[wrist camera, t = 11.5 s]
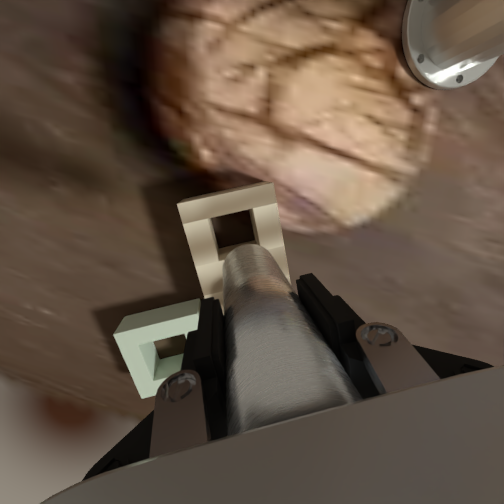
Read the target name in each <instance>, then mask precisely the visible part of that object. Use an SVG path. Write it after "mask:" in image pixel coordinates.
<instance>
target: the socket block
mask: <svg viewBox="0 0 504 504" xmlns="http://www.w3.org/2000/svg"><path fill="white" fill-rule="evenodd" d="M177 206H178V210H179V213H180V217H181V220H182V223H183V227H184V230H185V234H186V237H187V240H188V244H189V247H190V250H191V254H192V257H193V261H194V264H195V267H196V271H197V274H198V278H199V281H200V284H201V288H202V291H203V295H204V298H205V299H206V298H210V297H214V299H219V301H220V304H221V308H222V311H223V315H224V308H223V275H222V268H223V263H224V260H225V258H226V257H227V255H228V254H229V253H230V252H231V251H232V250H233V249H235V248H237V247H239V246H241V245H245V244H256V245H260V246H262V247H264V248H266V249H267V250H268V251H269V252H270V253H271V254H272V256H273V257H274V259H275V260H276V262H277V264H278V265H279V267H280V268H281V270H282V272H283V273H284V275H285V276H286V278H287V279H288V281H289V283H290V284H291V282H290V276H289V271H288V265H287V259H286V253H285V247H284V241H283V236H282V230H281V224H280V218H279V212H278V207H277V201H276V195H275V189H274V183H272V182H266V181H264V182H259V183H255V184H250V185H245V186H241V187H236V188H232V189H227V190H223V191H218V192H214V193H209V194H205V195H200V196H195V197H191V198H186V199H183V200H181V201H180V202H179V203H177ZM248 209H249V213H250V218H251V222H252V227H253V232H254V237H255V240H253V241H249V242H244V243H240V244H236V245H232V246H227V247H223V248H218V244H217V240H216V236H215V233H214V229H213V225H212V221H211V218H212V217H217V216H221V215H226V214H230V213H235V212H239V211H243V210H248Z"/></svg>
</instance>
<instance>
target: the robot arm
mask: <svg viewBox="0 0 504 504" xmlns="http://www.w3.org/2000/svg"><path fill="white" fill-rule="evenodd" d="M402 44H403V50H404V55H405V58H406V60H407V63H408V65H409V67H410V69H411V71H412V72H413V74H414V75H415V76H416V77H417V78H418V79H419V80H420V81H421V82H422V83H424V84H425V85H427V86H428V87H431V88H434V89H438V90H450V89H456V88H458V87H461V86H464V85H467V84H469V83H471V82H473V81H475V80H476V79H478V78H479V77H480V76H482V75H483V74H484V73H485V72H486V71H487V70H488V69H489V68H490V67H491V66H492V65H493V64H494V62H495V61H496V60H497V58H498V57H499V56H500V55H502V54H504V0H408V2H407V5H406V9H405V13H404V17H403V25H402ZM296 283H297V290H298V296H299V299H300V300H301V302H302V303H303V305H304V306H305V308H306V310H307V311H308V313H309V314H310V316H311V318H312V319H313V321H314V322H315V324H316V326H317V327H318V329H319V330H320V332H321V333H322V335H323V337H324V338H325V340H326V341H327V343H328V345H329V346H330V348H331V349H332V351H333V352H334V354H335V356H336V357H337V359H338V360H339V362H340V364H341V365H342V367H343V368H344V370H345V372H346V373H347V375H348V376H349V378H350V379H351V381H352V383H353V384H354V386H355V387H356V389H357V391H358V392H359V394H360V395H361V397H362V399H363V400H360V401H356V402H352V403H348V404H345V405H341V406H337V407H333V408H330V409H326V410H322V411H319V412H315V413H311V414H307V415H304V416H300V417H296V418H293V419H289V420H285V421H282V422H278V423H274V424H271V425H267V426H263V427H260V428H256V429H252V430H249V431H245V432H241V433H238V434H234V435H231V436H227V406H226V372H225V340H224V315H223V311H222V308H221V304H220V301H219V299H214V297H210V298H206V299H202V300H201V306H200V313H199V320H198V327H197V330H194V331H190V332H188V334H187V339H186V344H185V349H184V354H183V359H182V364H181V369H180V371H178V372H176V373H174V374H172V375H170V376H169V377H168V378H166V379H165V380H164V381H163V382H162V383H161V385H160V386H159V388H158V389H157V393H156V398H155V407H154V410H153V411H152V412H151V413H150V414H149V415H148V416H147V417H146V418H145V419H143V420H142V421H141V422H140V423H139V424H138V425H137V426H136V427H135V428H134V429H133V430H132V431H130V432H129V433H128V434H127V435H126V436H125V437H124V438H123V439H122V440H121V441H120V442H118V444H116V445H115V446H114V447H113V448H112V449H111V450H110V451H109V452H108V453H107V454H106V455H104V456H103V457H102V458H101V459H100V460H99V461H98V462H97V463H96V464H95V465H94V466H93V467H92V468H91V469H90V471H88V473H87V474H86V476H85V477H84V479H83V480H82V481H81V482H79V483H76V484H74V485H73V486H70V487H68V488H66V489H64V490H63V491H60V492H59V493H56V494H55V495H52V496H51V497H49V498H48V499H46V500H44V501H43V502H41V503H40V504H504V365H502V366H496V367H494V366H492V365H490V364H488V363H485V362H481V361H478V360H474V359H470V358H466V357H462V356H457V355H453V354H449V353H445V352H441V351H436V350H432V349H428V348H424V347H420V346H415V345H412V344H411V343H410V342H409V341H408V340H407V338H406V337H405V336H404V335H403V334H402V332H401V331H399V330H398V329H397V328H396V327H394V326H392V325H389V324H386V323H380V322H371V323H365V322H364V321H363V320H362V319H361V318H360V317H359V316H358V315H357V314H356V313H355V312H354V311H353V310H352V309H351V308H350V307H349V305H348V304H347V303H346V302H345V301H344V300H343V299H342V298H341V297H340V296H338V295H336V296H332V294H331V293H330V292H329V291H328V290H327V289H326V288H325V287H324V286H323V285H322V283H321V282H320V281H319V280H318V279H317V278H316V277H315V276H314V275H313V274H312V273H310V274H305V275H301V276H300V279H298V280H296Z"/></svg>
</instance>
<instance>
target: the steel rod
mask: <svg viewBox="0 0 504 504" xmlns="http://www.w3.org/2000/svg"><path fill="white" fill-rule="evenodd" d="M222 275H223V308H224V340H225V372H226V406H227V436H231V435H234V434H238V433H241V432H245V431H249V430H252V429H256V428H260V427H263V426H267V425H271V424H274V423H278V422H282V421H285V420H289V419H293V418H296V417H300V416H304V415H307V414H311V413H315V412H319V411H322V410H326V409H330V408H333V407H337V406H341V405H345V404H348V403H352V402H356V401H360V400H363V399H362V397H361V395H360V394H359V392H358V391H357V389H356V387H355V386H354V384H353V383H352V381H351V379H350V378H349V376H348V375H347V373H346V372H345V370H344V368H343V367H342V365H341V364H340V362H339V360H338V359H337V357H336V356H335V354H334V352H333V351H332V349H331V348H330V346H329V345H328V343H327V341H326V340H325V338H324V337H323V335H322V333H321V332H320V330H319V329H318V327H317V326H316V324H315V322H314V321H313V319H312V318H311V316H310V314H309V313H308V311H307V310H306V308H305V306H304V305H303V303H302V302H301V300H300V299H299V297H298V295H297V294H296V292H295V291H294V289H293V287H292V286H291V284H290V283H289V281H288V279H287V278H286V276H285V275H284V273H283V272H282V270H281V268H280V267H279V265H278V264H277V262H276V260H275V259H274V257H273V256H272V254H271V253H270V252H269V251H268V250H267V249H266V248H264V247H262V246H260V245H256V244H245V245H241V246H239V247H237V248H235V249H233V250H232V251H231V252H230V253H229V254H228V255H227V257H226V258H225V260H224V263H223V268H222Z"/></svg>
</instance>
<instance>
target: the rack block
mask: <svg viewBox="0 0 504 504" xmlns="http://www.w3.org/2000/svg"><path fill="white" fill-rule="evenodd" d="M200 306H201V301H200V298H198V299H194V300H190V301H186V302H181V303H177V304H173V305H169V306H165V307H161V308H157V309H153V310H149V311H145V312H141V313H136V314H132V315H128V316H125V317H124V318H123V320H122V321H121V323H120V325H119V326H118V328H117V329H116V331H115V332H114V334H113V335H114V338H115V340H116V342H117V344H118V347H119V349H120V351H121V353H122V356H123V358H124V360H125V362H126V365H127V367H128V369H129V371H130V374H131V376H132V378H133V380H134V383H135V385H136V387H137V389H138V392H139V394H140V396H141V398H142V399H143V398H146V397H150V396H154V395H156V393H157V389H158V388H159V386H160V385H161V383H162V382H163V381H164V380H165V379H166V378H168V377H169V376H170V375H172V374H174V373H176V372H178V371H180V369H181V364H182V359H183V354H184V353H183V354H179V355H175V356H171V357H168V358H164V359H160V358H159V356H158V353H157V351H156V348H155V346H154V343H153V341H156V340H160V339H164V338H168V337H172V336H176V335H180V334H185V337H186V339H187V334H188V332H190V331H194V330H197V327H198V320H199V313H200Z"/></svg>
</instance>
